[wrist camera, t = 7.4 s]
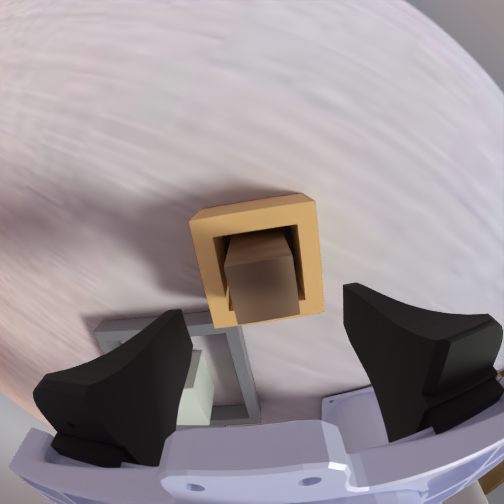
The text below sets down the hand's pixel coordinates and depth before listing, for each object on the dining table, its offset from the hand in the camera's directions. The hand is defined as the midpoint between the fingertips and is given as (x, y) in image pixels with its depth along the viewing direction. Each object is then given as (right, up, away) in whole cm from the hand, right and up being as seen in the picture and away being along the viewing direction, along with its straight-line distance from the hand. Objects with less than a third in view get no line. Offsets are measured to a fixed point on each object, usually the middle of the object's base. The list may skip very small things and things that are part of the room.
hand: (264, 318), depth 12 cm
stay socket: (0, +3, +9) cm, 9 cm away
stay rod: (0, +3, +9) cm, 9 cm away
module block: (-7, -9, +13) cm, 17 cm away
